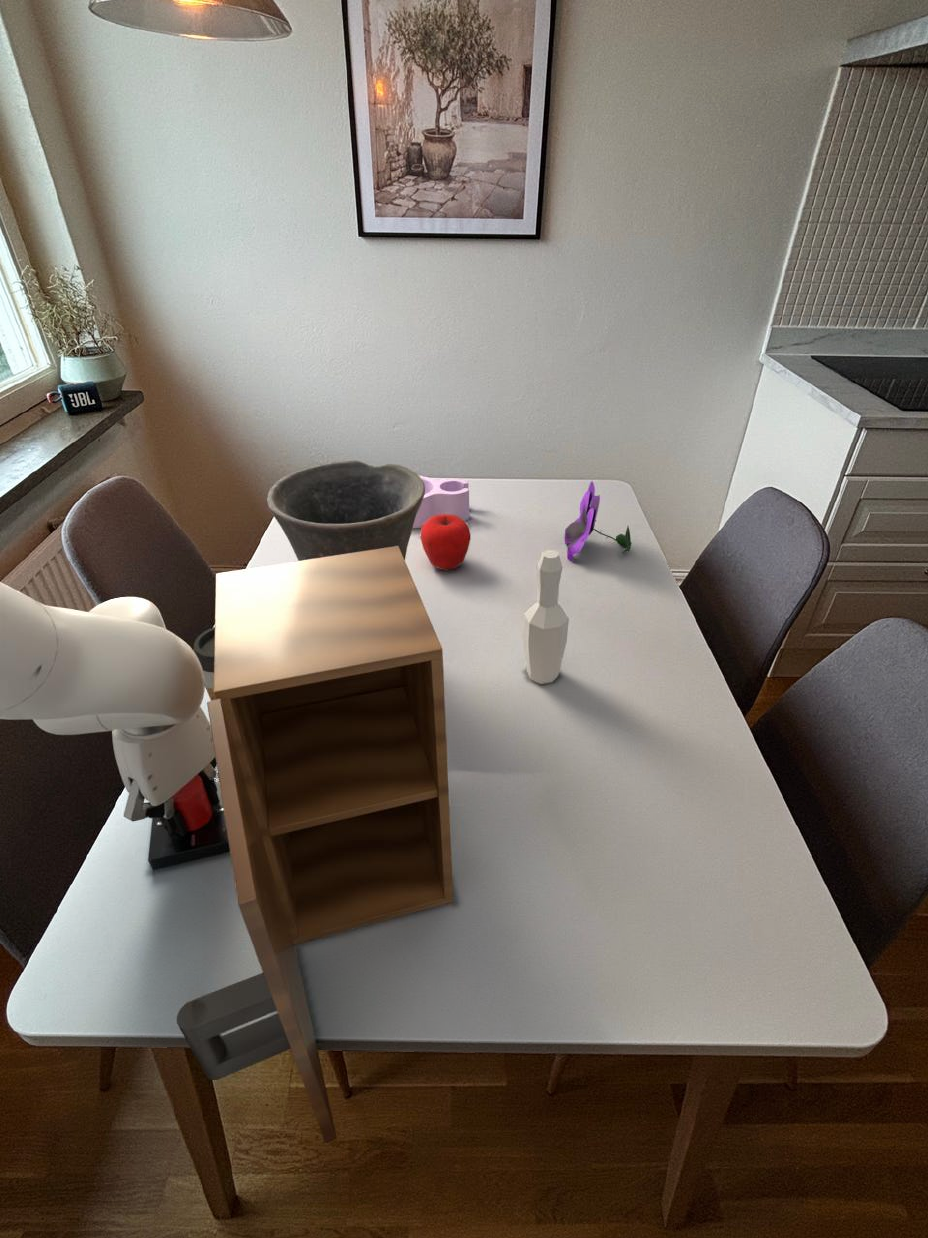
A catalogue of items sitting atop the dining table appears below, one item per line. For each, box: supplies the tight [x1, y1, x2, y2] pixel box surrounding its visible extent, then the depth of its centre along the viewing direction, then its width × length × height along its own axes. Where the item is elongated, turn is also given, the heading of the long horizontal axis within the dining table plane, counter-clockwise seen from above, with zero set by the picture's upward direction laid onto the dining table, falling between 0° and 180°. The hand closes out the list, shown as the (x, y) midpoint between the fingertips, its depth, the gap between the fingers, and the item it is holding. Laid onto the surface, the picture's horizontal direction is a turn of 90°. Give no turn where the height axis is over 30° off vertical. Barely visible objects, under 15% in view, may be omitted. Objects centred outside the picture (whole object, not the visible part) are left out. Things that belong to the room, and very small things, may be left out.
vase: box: [266, 460, 425, 561], centre depth 104 cm, size 22×22×30 cm
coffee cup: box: [192, 626, 216, 701], centre depth 96 cm, size 8×8×15 cm
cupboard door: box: [176, 699, 337, 1144], centre depth 54 cm, size 8×18×36 cm, turn 23°
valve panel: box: [147, 781, 230, 871], centre depth 85 cm, size 10×10×2 cm
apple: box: [419, 514, 472, 571], centre depth 133 cm, size 10×10×11 cm
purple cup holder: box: [412, 475, 470, 529], centre depth 152 cm, size 20×12×7 cm, turn 91°
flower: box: [564, 480, 633, 563], centre depth 137 cm, size 15×15×14 cm
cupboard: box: [214, 546, 454, 946], centre depth 71 cm, size 18×18×36 cm
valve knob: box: [173, 775, 213, 831], centre depth 82 cm, size 4×4×6 cm
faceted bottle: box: [522, 549, 570, 685], centre depth 102 cm, size 6×6×22 cm
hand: (193, 813), depth 84 cm, fingers closed on valve knob, 4 cm apart
